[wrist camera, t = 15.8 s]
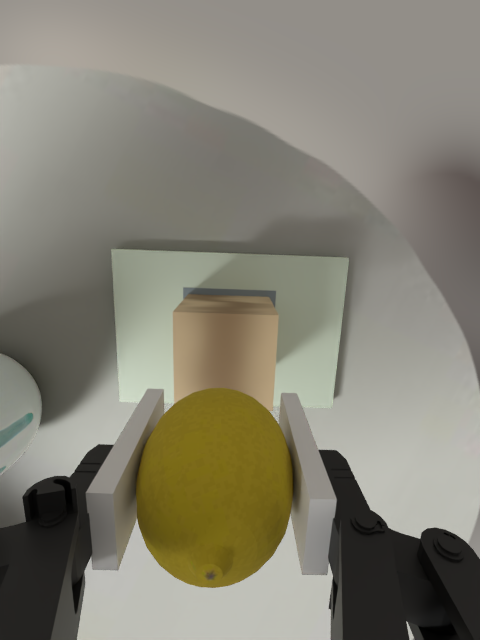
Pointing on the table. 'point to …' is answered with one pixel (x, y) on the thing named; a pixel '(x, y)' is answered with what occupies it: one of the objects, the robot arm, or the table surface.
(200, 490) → the lemon
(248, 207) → the table surface
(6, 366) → the vase
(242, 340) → the oak cube
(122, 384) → the board
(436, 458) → the table surface
